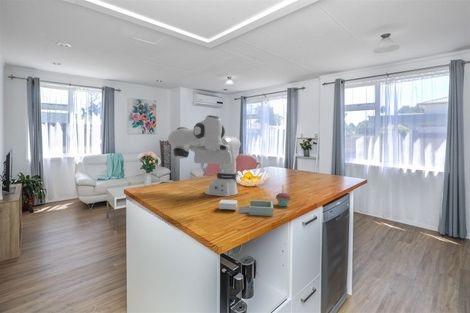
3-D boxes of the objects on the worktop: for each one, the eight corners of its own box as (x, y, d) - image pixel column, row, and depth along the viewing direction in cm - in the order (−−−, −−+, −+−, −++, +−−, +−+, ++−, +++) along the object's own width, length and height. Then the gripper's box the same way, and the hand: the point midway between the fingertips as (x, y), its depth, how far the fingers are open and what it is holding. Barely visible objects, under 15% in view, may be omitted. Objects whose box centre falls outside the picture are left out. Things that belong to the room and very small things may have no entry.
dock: (237, 215, 121) (237, 206, 120) (239, 208, 134) (239, 199, 133) (272, 217, 119) (273, 208, 118) (272, 210, 131) (272, 201, 131)
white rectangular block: (218, 210, 125) (218, 203, 124) (221, 206, 132) (221, 199, 131) (235, 211, 124) (235, 203, 123) (237, 207, 131) (237, 200, 130)
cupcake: (274, 203, 142) (274, 183, 141) (288, 203, 143) (288, 183, 142) (277, 207, 133) (278, 186, 132) (292, 207, 134) (293, 186, 133)
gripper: (192, 145, 125) (192, 172, 126) (231, 147, 122) (230, 173, 123) (196, 145, 131) (195, 170, 132) (232, 146, 128) (232, 172, 130)
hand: (212, 172), depth 128 cm, fingers open, 8 cm apart
